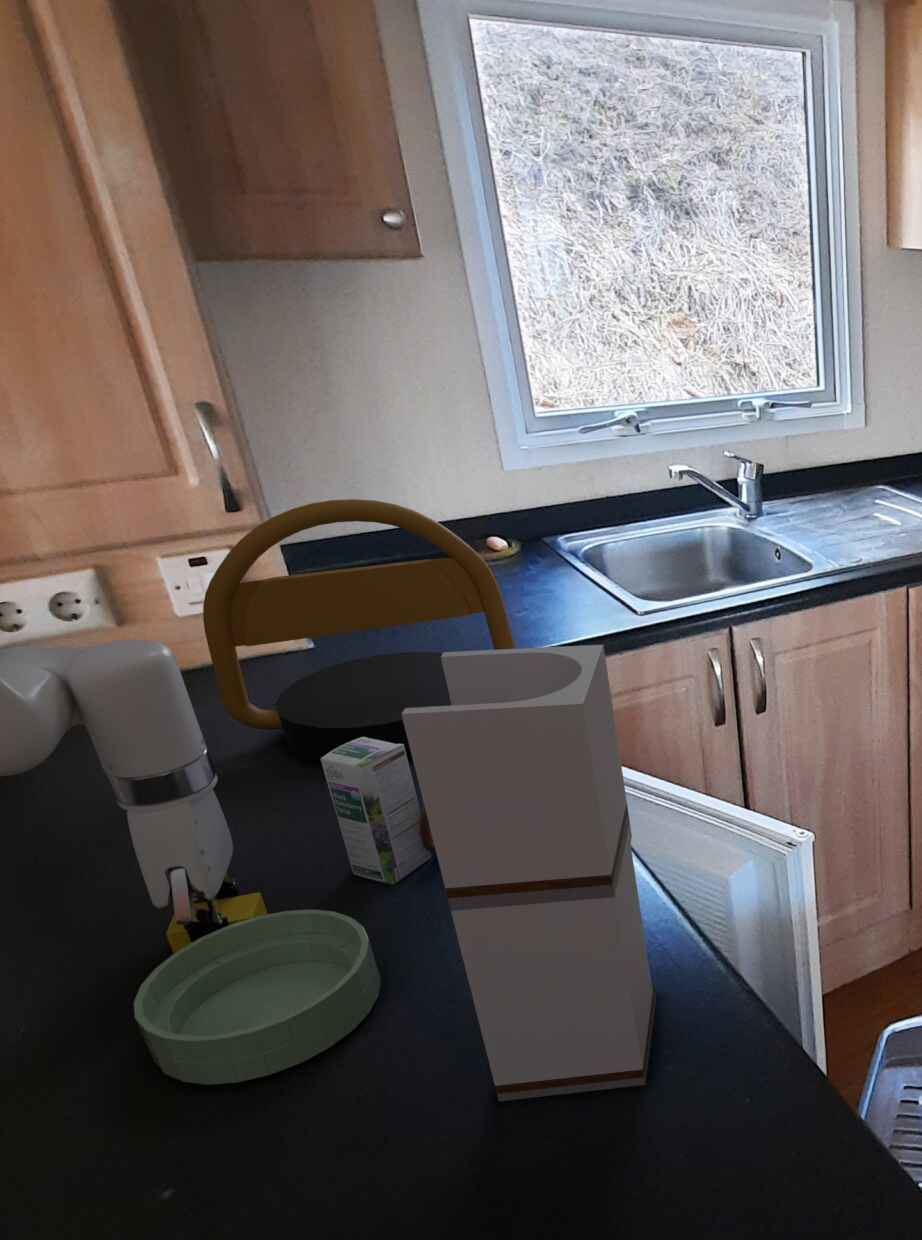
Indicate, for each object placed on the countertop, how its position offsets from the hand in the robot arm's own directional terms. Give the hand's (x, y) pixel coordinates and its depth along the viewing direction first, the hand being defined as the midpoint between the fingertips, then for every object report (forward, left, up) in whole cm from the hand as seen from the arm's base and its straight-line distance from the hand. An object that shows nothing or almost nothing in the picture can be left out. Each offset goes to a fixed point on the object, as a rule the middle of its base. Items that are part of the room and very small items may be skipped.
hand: (224, 938), depth 102 cm
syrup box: (+14, +8, -1) cm, 17 cm away
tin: (+23, +12, -1) cm, 26 cm away
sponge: (0, 0, 0) cm, 0 cm away
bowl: (+6, -14, 0) cm, 15 cm away
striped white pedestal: (+31, -28, -1) cm, 42 cm away
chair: (+12, +45, -1) cm, 47 cm away
